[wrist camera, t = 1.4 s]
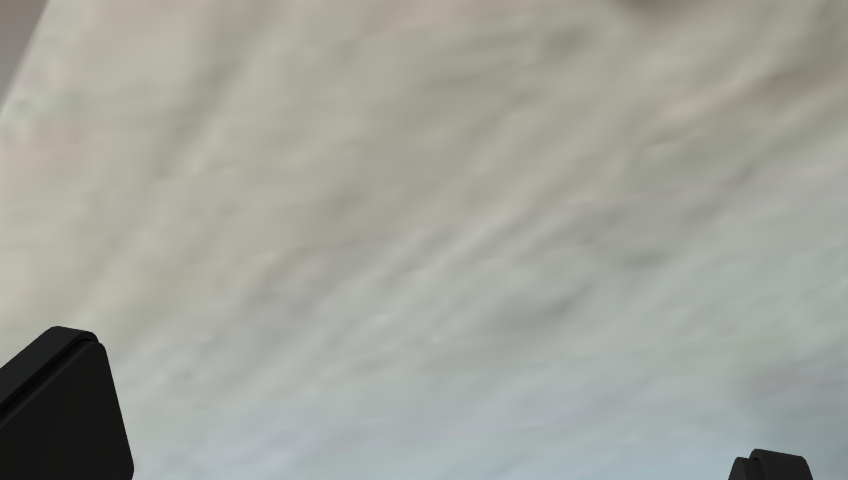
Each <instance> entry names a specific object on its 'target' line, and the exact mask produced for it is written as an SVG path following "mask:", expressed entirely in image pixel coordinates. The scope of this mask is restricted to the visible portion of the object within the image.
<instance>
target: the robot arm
mask: <svg viewBox="0 0 848 480" xmlns="http://www.w3.org/2000/svg"><path fill="white" fill-rule="evenodd" d="M133 473H134V463H133V459H132V455H131V451H130V447H129V443H128V439H127V435H126V431H125V427H124V423H123V419H122V414H121V410H120V406H119V402H118V398H117V394H116V390H115V386H114V382H113V378H112V374H111V370H110V365H109V361H108V357H107V353H106V350H105V347H104V346H103V345H102V344H101V343H99V341H98V339H97V336H96V335H95V334H94V333H92V332H89V331H84V330H78V329H72V328H67V327H61V326H55V327H51V328H50V329H48V330H46V331H45V332H44V333H43V334H41V335H40V336H39V337H38V338H37V339H35V340H34V341H33V342H32V343H30V344H29V345H28V346H27V347H26V348H24V349H23V350H22V351H21V352H20V353H18V354H17V355H16V356H15V357H14V358H12V359H11V360H10V361H9V362H8V363H6V364H5V365H4V366H3V367H2V368H0V480H132V477H133ZM728 480H813V478H812V475H811V472H810V469H809V466H808V464H807V462H806V460H805V459H804V458H803V457H802V456H796V455H791V454H785V453H779V452H773V451H768V450H762V449H754V450H753V451H752V453H751V455H750V457H749V459H748V458H743V457H737V458H736V459H735V461H734V464H733V466H732V469H731V472H730V476H729V479H728Z"/></svg>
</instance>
